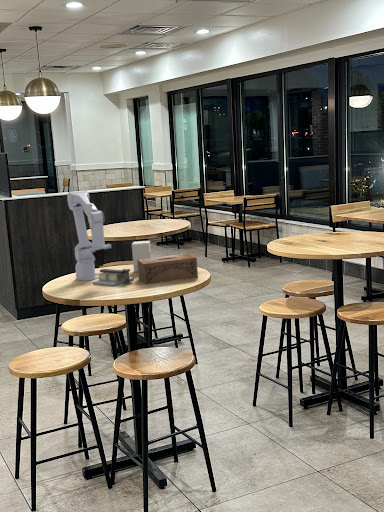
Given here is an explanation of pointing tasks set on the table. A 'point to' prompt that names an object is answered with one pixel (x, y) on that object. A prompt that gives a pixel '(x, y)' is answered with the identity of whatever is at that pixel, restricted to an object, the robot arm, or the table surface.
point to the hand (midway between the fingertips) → (100, 265)
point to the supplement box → (140, 252)
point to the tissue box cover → (167, 268)
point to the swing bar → (114, 271)
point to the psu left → (104, 276)
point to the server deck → (110, 283)
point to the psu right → (116, 277)
